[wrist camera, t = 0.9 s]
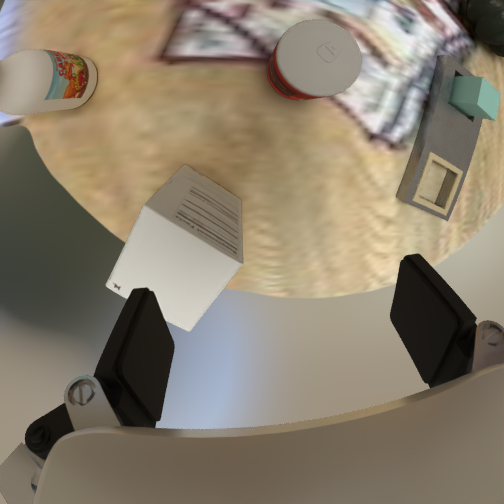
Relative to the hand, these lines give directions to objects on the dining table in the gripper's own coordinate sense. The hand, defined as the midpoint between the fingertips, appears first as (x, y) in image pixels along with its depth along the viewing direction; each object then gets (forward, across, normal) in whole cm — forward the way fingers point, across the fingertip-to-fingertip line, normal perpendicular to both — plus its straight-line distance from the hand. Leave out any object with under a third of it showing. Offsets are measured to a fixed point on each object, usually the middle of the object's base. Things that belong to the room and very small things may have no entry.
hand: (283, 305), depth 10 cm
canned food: (+28, -7, -11) cm, 31 cm away
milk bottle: (+28, +22, -16) cm, 39 cm away
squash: (+28, -43, -26) cm, 58 cm away
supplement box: (+28, +8, +5) cm, 30 cm away
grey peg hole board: (+28, -29, -3) cm, 41 cm away
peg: (+28, -32, -10) cm, 44 cm away
